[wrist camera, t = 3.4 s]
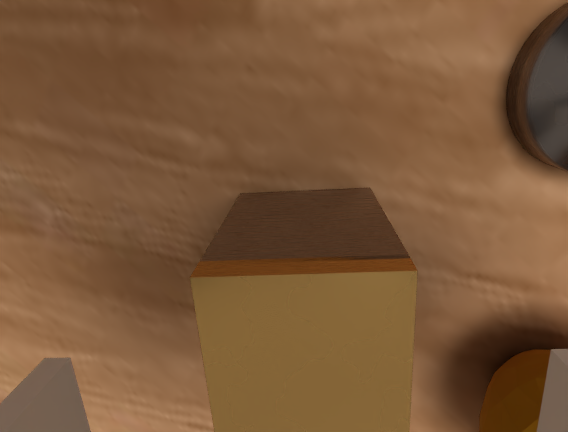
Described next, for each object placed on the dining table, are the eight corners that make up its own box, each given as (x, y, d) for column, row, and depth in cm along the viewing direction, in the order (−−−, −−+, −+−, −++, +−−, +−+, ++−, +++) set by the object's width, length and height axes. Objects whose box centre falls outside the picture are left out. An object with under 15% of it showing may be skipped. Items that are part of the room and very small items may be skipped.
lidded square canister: (252, 305, 20) (216, 445, 12) (240, 193, 18) (189, 277, 10) (369, 302, 20) (408, 445, 12) (369, 187, 18) (417, 270, 10)
